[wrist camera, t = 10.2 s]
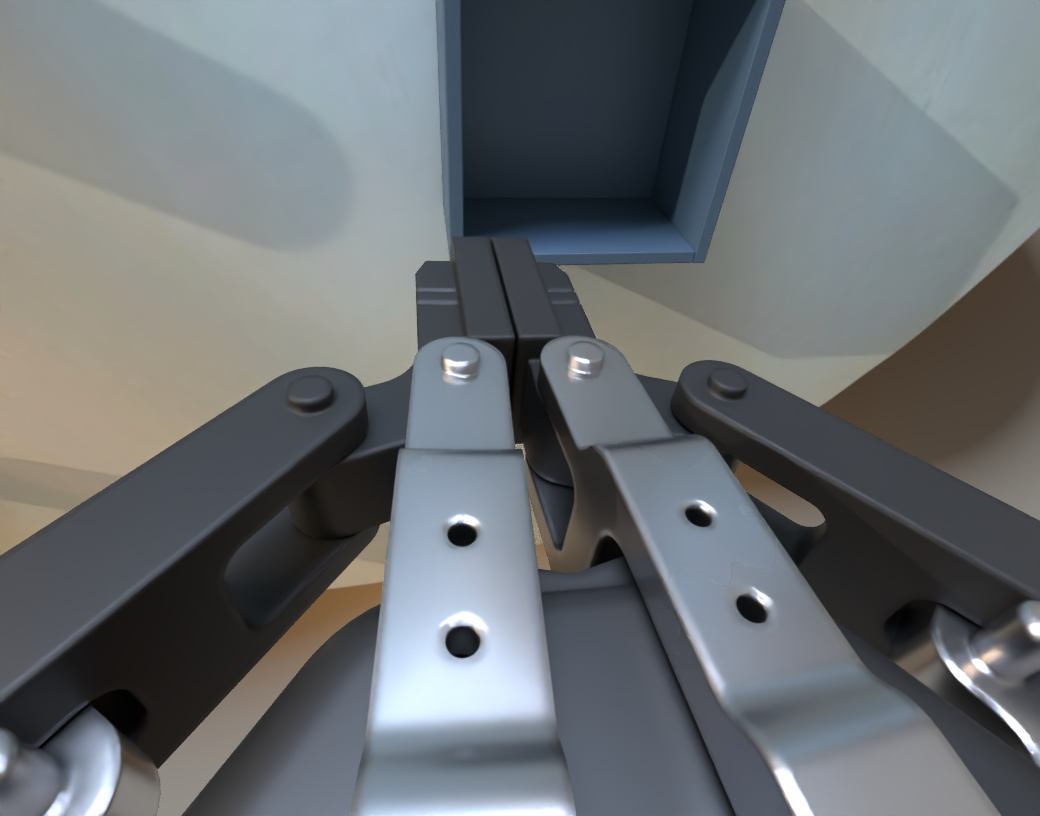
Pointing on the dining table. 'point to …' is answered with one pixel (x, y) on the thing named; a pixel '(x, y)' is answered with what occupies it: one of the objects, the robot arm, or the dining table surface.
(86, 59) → the dining table surface
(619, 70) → the blue open box
